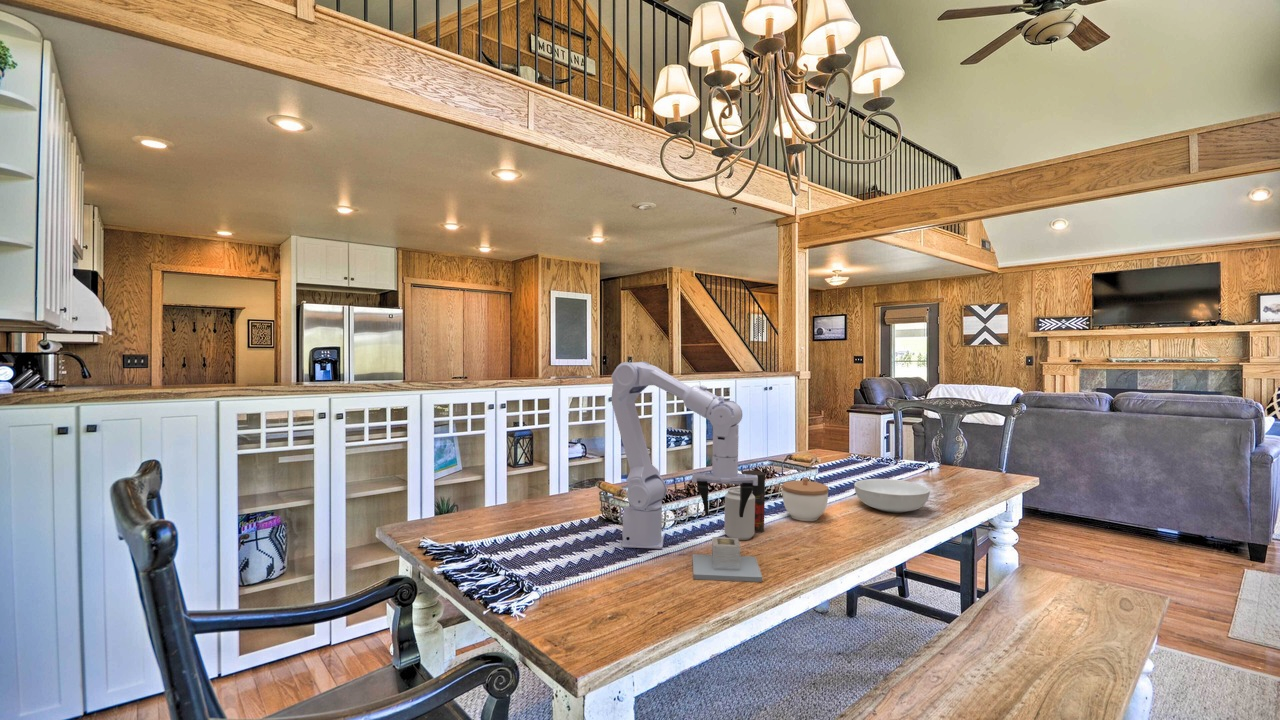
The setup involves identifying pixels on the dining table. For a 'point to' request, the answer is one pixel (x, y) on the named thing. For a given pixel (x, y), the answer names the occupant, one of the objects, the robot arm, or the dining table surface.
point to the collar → (725, 553)
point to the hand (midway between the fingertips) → (723, 515)
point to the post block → (706, 572)
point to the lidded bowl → (805, 499)
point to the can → (733, 521)
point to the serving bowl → (892, 494)
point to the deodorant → (758, 499)
